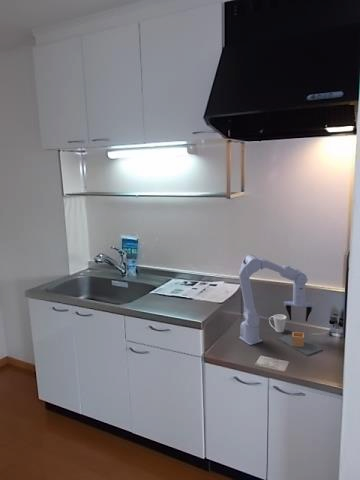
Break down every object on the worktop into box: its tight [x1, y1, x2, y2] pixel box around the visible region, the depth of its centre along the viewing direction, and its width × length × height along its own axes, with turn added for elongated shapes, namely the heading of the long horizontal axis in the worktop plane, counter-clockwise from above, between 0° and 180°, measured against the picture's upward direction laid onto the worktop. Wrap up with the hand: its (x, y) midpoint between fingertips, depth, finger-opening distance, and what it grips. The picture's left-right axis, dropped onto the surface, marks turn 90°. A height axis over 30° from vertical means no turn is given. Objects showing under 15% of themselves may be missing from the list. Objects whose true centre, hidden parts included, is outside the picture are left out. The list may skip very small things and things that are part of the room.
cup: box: [268, 313, 287, 333], centre depth 202 cm, size 7×10×8 cm
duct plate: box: [277, 333, 324, 357], centre depth 186 cm, size 20×10×3 cm, turn 28°
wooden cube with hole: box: [292, 331, 305, 347], centre depth 185 cm, size 5×5×5 cm
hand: (298, 320), depth 192 cm, fingers open, 7 cm apart
